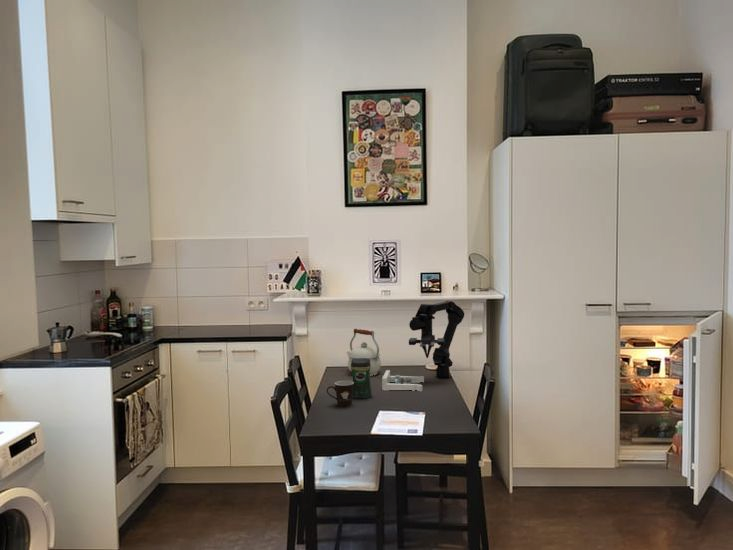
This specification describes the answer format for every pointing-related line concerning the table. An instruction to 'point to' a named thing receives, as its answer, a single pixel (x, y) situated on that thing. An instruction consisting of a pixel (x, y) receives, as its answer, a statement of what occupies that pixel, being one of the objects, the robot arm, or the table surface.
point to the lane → (388, 386)
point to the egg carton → (405, 381)
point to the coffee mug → (343, 392)
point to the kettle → (365, 352)
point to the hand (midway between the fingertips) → (427, 357)
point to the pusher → (397, 379)
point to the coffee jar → (361, 377)
